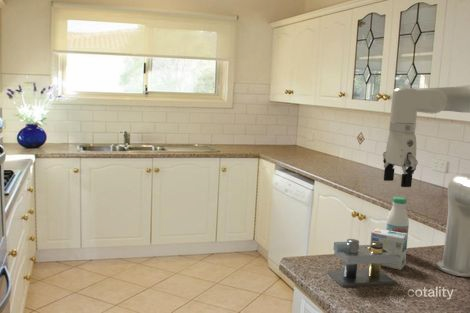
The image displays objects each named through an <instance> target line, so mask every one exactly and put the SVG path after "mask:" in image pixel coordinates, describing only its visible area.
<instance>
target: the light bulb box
mask: <svg viewBox="0 0 470 313" xmlns="http://www.w3.org/2000/svg"><path fill="white" fill-rule="evenodd" d="M408 237H409V233H408V234H406V233H400V232H394V231H389V230H385V229H384V228H383V229H382V228H378V227H377V228H376V227H375V229H374V230H373V231H371V235H370V244H369V245H371V242H381V243H383V246H384V247H385V248H387V249H389V250H390V251H392V252H394V253H395V254H396V262H395V263H381V267H385V266H386V268H390V269H395V270H399V271H402V269H403V268H404V267H405V265H406V257H407V250H408V249H407V248H408V247H407V246H408V239H407V238H408Z"/></svg>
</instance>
